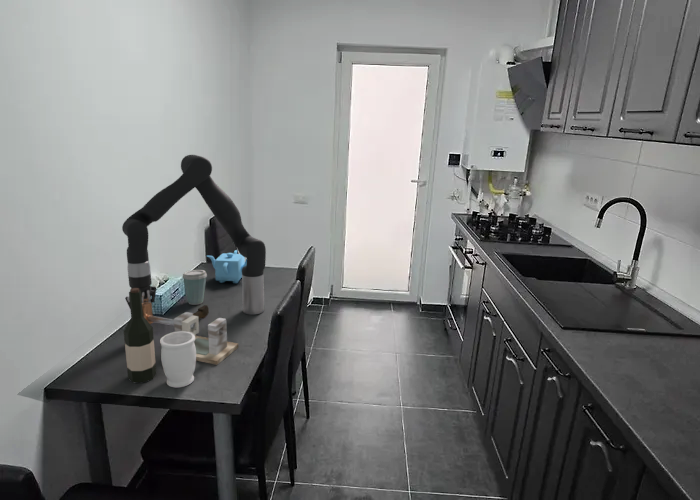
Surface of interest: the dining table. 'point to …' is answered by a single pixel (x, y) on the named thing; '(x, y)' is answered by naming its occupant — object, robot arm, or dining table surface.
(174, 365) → the jar
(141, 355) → the wine bottle
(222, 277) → the teakettle
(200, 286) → the disposable coffee cup
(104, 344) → the dining table surface
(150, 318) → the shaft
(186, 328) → the spacer collar
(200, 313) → the hand tool
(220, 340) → the bearing stand
